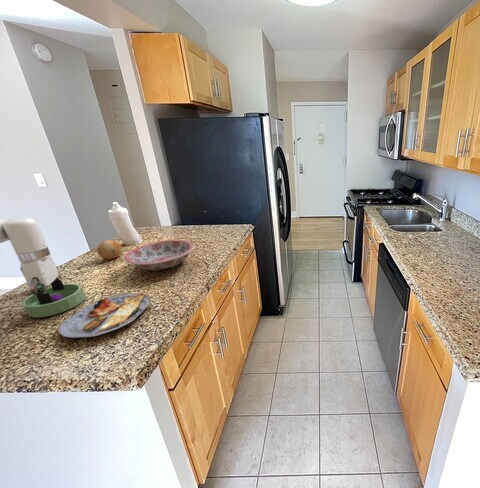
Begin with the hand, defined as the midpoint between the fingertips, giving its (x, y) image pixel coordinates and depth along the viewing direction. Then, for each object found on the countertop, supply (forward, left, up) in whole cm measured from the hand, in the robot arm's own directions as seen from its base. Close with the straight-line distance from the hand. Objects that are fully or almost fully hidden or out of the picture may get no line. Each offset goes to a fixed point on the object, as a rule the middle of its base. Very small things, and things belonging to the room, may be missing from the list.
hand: (53, 296), depth 96 cm
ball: (0, 0, -2) cm, 2 cm away
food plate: (+20, -17, -4) cm, 27 cm away
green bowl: (0, 0, -4) cm, 4 cm away
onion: (+7, +43, -4) cm, 44 cm away
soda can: (-12, +18, -4) cm, 22 cm away
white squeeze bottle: (+11, +65, -4) cm, 66 cm away
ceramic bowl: (+33, +22, -4) cm, 40 cm away
